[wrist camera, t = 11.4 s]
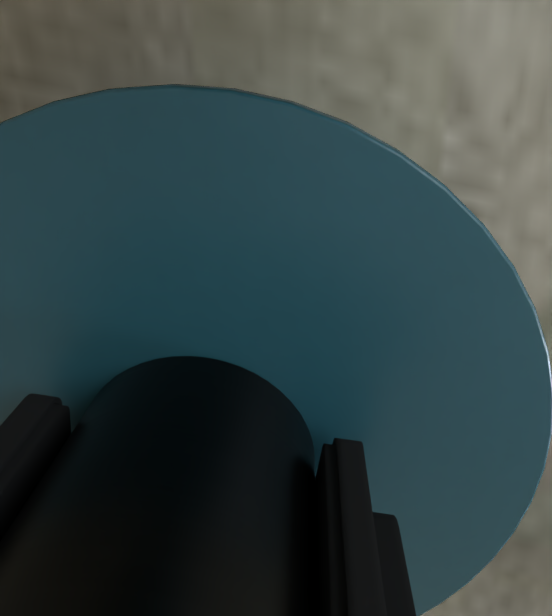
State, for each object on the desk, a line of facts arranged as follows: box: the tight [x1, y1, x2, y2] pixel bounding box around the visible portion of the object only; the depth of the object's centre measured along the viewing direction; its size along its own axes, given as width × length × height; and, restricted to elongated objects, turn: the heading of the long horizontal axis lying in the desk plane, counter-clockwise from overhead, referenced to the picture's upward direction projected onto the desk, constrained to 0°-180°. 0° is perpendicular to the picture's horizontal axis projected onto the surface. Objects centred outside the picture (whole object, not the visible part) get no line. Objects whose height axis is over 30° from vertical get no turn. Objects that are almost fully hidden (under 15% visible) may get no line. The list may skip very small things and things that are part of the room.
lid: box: [0, 84, 552, 616], centre depth 9 cm, size 15×15×7 cm
